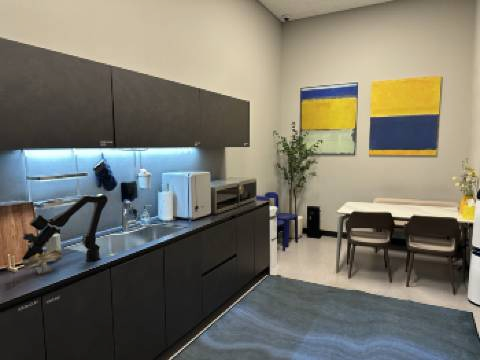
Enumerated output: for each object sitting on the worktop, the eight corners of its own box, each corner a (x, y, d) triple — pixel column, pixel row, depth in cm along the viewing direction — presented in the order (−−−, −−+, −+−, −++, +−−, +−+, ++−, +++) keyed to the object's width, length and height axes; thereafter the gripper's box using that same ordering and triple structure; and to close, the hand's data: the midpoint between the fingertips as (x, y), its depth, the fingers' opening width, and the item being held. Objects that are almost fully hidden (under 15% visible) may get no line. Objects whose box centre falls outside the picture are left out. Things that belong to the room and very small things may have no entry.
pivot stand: (50, 266, 190) (49, 256, 189) (53, 271, 181) (52, 260, 181) (35, 269, 186) (34, 258, 185) (38, 274, 177) (37, 263, 177)
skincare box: (58, 261, 199) (56, 236, 198) (46, 262, 198) (44, 237, 196) (62, 256, 207) (60, 233, 206) (51, 257, 206) (49, 233, 204)
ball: (28, 259, 181) (37, 258, 183) (29, 264, 178) (37, 263, 181) (28, 253, 179) (37, 252, 182) (29, 258, 177) (38, 257, 179)
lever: (61, 256, 191) (58, 246, 190) (63, 259, 186) (60, 249, 185) (24, 268, 181) (21, 258, 180) (25, 271, 175) (22, 261, 174)
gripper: (30, 223, 187) (8, 246, 181) (34, 229, 172) (10, 254, 166) (47, 235, 192) (26, 258, 186) (53, 242, 177) (29, 267, 171)
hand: (22, 259), depth 177 cm, fingers closed, pressing on ball, lever
